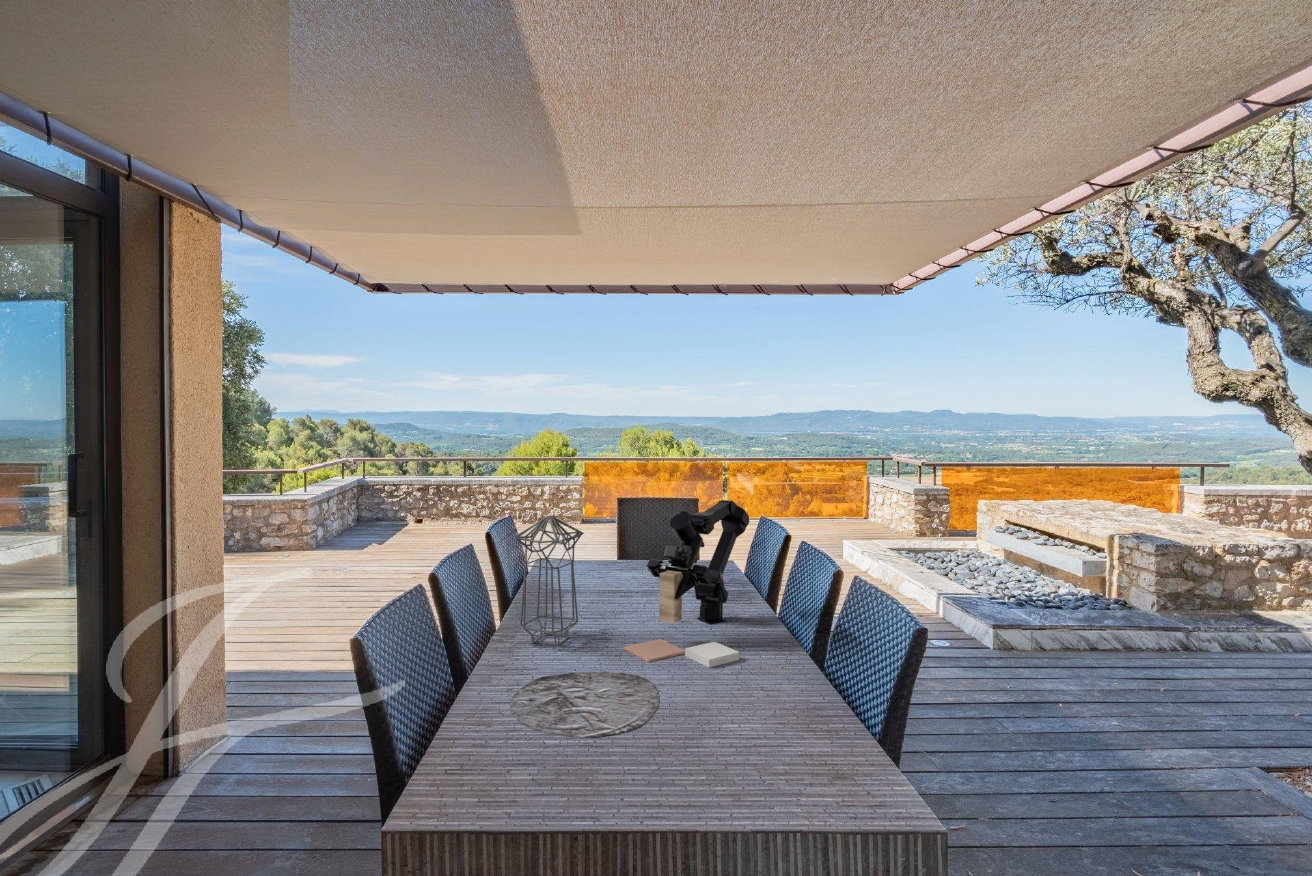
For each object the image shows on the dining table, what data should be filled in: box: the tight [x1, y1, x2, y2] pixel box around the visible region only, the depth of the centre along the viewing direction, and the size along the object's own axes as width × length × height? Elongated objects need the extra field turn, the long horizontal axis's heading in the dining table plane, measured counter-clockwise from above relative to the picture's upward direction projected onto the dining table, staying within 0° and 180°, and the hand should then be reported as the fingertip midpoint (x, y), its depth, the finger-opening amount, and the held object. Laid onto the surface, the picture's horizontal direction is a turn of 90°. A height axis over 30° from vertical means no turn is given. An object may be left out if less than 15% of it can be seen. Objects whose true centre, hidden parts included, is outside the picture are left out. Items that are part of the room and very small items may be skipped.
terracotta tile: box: [623, 638, 685, 663], centre depth 182 cm, size 12×12×1 cm
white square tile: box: [684, 641, 740, 668], centre depth 177 cm, size 10×10×2 cm
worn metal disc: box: [509, 670, 660, 739], centre depth 149 cm, size 33×35×1 cm
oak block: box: [658, 571, 683, 624], centre depth 188 cm, size 4×4×13 cm
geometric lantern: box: [513, 515, 585, 646], centre depth 190 cm, size 16×16×35 cm
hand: (668, 597), depth 187 cm, fingers closed on oak block, 4 cm apart
